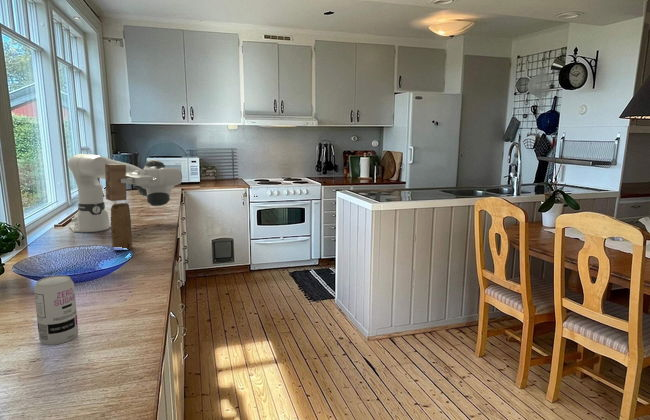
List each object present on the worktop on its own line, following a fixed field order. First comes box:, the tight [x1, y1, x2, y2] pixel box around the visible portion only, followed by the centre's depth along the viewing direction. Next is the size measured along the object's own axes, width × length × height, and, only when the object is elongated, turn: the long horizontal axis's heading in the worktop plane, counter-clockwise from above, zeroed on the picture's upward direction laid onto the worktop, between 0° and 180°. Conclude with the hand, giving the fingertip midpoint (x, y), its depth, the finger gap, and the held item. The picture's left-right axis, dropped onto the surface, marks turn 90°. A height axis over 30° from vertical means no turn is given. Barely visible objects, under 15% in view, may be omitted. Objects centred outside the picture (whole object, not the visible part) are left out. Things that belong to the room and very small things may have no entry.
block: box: [110, 202, 133, 250], centre depth 183 cm, size 11×8×20 cm
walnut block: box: [104, 164, 127, 202], centre depth 179 cm, size 6×6×15 cm
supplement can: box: [33, 275, 79, 346], centre depth 103 cm, size 8×8×15 cm
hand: (116, 180), depth 179 cm, fingers closed on walnut block, 6 cm apart
